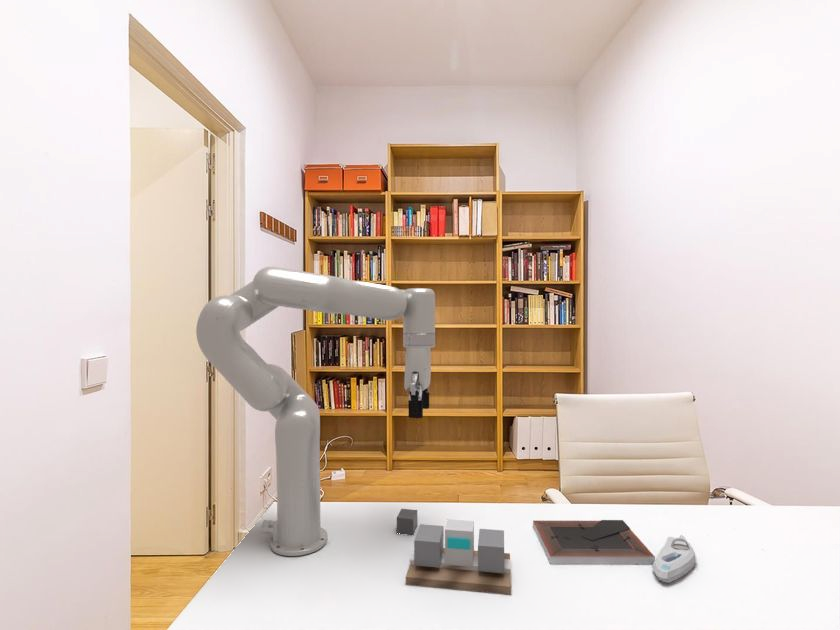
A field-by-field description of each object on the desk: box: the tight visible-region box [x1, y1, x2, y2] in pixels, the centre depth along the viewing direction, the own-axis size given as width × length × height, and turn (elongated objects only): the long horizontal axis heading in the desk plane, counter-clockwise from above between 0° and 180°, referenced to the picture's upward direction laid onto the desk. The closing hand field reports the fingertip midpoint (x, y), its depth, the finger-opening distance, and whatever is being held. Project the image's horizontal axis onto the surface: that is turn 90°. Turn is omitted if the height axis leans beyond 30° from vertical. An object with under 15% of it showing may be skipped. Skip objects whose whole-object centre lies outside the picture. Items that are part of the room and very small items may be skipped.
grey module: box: [444, 518, 475, 567], centre depth 97 cm, size 6×5×7 cm
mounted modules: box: [413, 523, 505, 573], centre depth 97 cm, size 18×7×5 cm, turn 80°
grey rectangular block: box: [396, 508, 418, 536], centre depth 115 cm, size 4×5×4 cm
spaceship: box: [651, 534, 696, 584], centre depth 101 cm, size 23×7×4 cm, turn 143°
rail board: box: [405, 547, 512, 596], centre depth 97 cm, size 20×12×2 cm, turn 80°
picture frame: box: [532, 519, 656, 566], centre depth 108 cm, size 16×2×22 cm
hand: (419, 412), depth 114 cm, fingers open, 9 cm apart
